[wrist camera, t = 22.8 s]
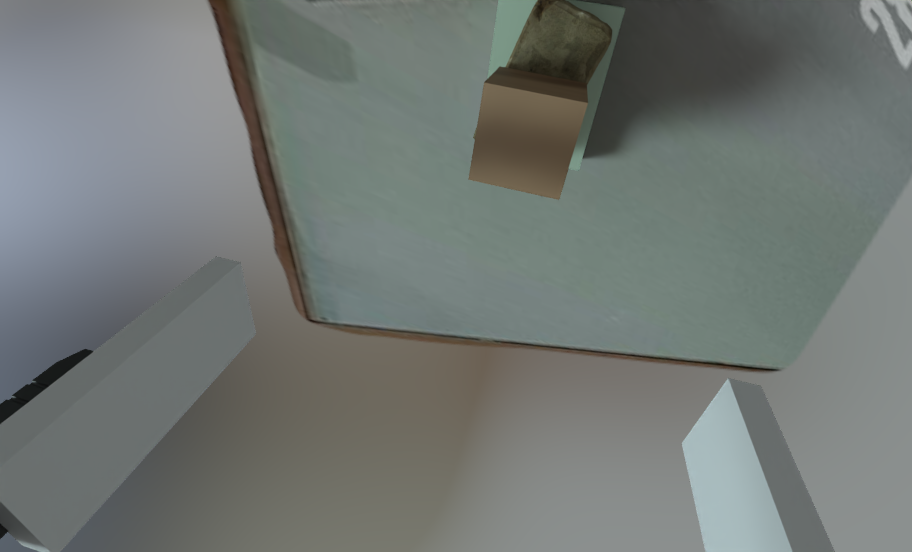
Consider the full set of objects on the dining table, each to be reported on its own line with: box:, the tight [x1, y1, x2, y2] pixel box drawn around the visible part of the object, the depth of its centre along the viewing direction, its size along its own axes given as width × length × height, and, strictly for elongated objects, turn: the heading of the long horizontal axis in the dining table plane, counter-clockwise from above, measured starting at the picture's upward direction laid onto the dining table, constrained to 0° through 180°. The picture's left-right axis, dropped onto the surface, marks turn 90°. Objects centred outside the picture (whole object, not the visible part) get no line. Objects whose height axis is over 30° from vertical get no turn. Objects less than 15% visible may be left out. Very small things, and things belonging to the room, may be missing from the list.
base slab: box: [487, 0, 625, 171], centre depth 36 cm, size 12×9×3 cm
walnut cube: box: [469, 66, 588, 200], centre depth 29 cm, size 6×6×6 cm
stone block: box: [473, 0, 612, 139], centre depth 33 cm, size 6×12×5 cm, turn 157°
